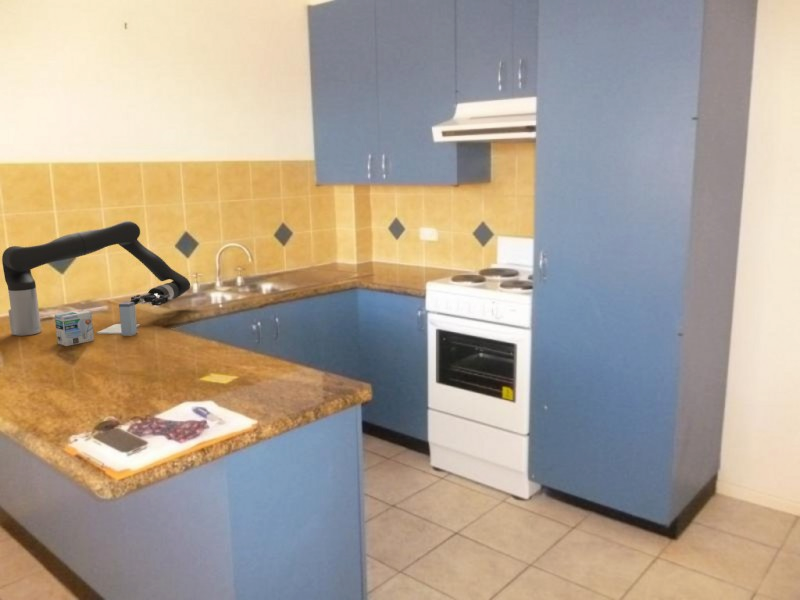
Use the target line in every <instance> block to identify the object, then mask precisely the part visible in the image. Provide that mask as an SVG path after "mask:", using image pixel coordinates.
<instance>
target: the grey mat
mask: <svg viewBox="0 0 800 600" xmlns="http://www.w3.org/2000/svg"><path fill="white" fill-rule="evenodd" d="M136 325H137V328H139V327H140V326H141V324H140V323H136ZM96 335H122V332H121V323H115V324H113V325H111V326H108V327H106V328H103V329H101V330H99V331H97V332H96Z"/></svg>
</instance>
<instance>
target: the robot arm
mask: <svg viewBox="0 0 800 600" xmlns="http://www.w3.org/2000/svg"><path fill="white" fill-rule="evenodd" d="M140 234H141V228H140V226H139V225H138V224H137V223H135V222H133V221H131V220H130V221H129V220H124V221H120V222H118V223H116V224H114V225H112V226H108V227H104V228H99V229H98V228H97V229H90V230H86V231H81V232H79V231H78V232H74V233H69V234H65V235H63V236H62V235H61V236H60V237H57V238H56V239H53V240H51V241H49V242H45V243H44V244H39V245H32V246H25V247H24V246H19V245H12V246H9V247H7V248H6V249H5V250H4V251H3V253H2V257H1V263H2V268H3V269H2V270H3V275H4V280H5V283H6V285H7V289H8V298H9V299H8V300H9V306H10V309H9V310H8V318H9V326H10V334H11V335H13V336H17V337H19V336H20V337H21V336H22V337H23V336H31V335H35V334H39V333H41V332H42V327H41V317H40V316H41V315H40V308H39V302H38V294H37V293H38V292H37V286H36V280H35V279H34V277H33V275H32V270H33V269H35V268H38V267H41V266H44V265H47V264H49V263H54V262H59V261H65V260H66V261H67V260H71V259H75V258H79V257H83V256H86V255H89V254H93V253H95V252H97V251H101V250H103V249H105V248H107V247H111V246H114V245H119V246H120V247H122V249H124V250H126V252H128V253H129V254H131V255H132V256H133V257H134V258H136V259H137V260H138V261H139V262H140V263H142V264H143V265H144V267H146V268H147V269H148V270H149V272H151V273H152V275H154V277H155V278H157V279H158V281H160V282H166V281H168V280H171V282H166V283H164V284H159V285H158V286H155V287H152V288H151V289H149V290H148V292H147V293H146V294H137V295H135V296H132V297H130V301H129V302H134V304H135V305H138V304H139V305H140V304H141V305H145V304H151V305H152V306H155V307H157V306H158V307H159V306H161V305H164V304H165V305H166V304H168V303H169V302H171V300H175V299H178V298H179V297H180V296H182V295H183V294H184V293H186V292H188V291H189V290H190V289H191V283H190V280H189V279H188V278H187V277H186V276H184V275H182V274H181V273H179V272H178V271H176V270H174V269H172V268H171V267H170V265H168V264H167V262H165V260H163V258H162V257H160V256H159V255H157V254H156V253H154V252H153V251H152V250H150V249H148V248H146V246H144V245H143V244H142V243H141V242H140V241H139V237H140V236H141V235H140Z"/></svg>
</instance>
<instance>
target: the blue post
mask: <svg viewBox="0 0 800 600" xmlns="http://www.w3.org/2000/svg"><path fill="white" fill-rule="evenodd" d="M118 310H119V320H120V322H119V323H120V324H121V332H122V334H121V336H123V337H124V336H125V337H126V336H130V337H131V336H134V335H137V334H138V327H137V325H136V324H137V316H136V314H137V313H136V306H135V304H134V302H130V301H128V302H127V301H123V302H120V303H118ZM136 333H137V334H136Z"/></svg>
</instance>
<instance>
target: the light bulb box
mask: <svg viewBox="0 0 800 600" xmlns="http://www.w3.org/2000/svg"><path fill="white" fill-rule="evenodd" d="M54 320H55V321H54V323H55V330H56V341H57V344H58V345H61V346H65V347H69V346H75V345H78V344H83V343H87V342H88V343H89V342H93V341H94V340H95V334H94V326H93V316H92V311H88V310H84V309H80V310H73V311H68V312H63V313H57V314H56V313H55V314H54Z"/></svg>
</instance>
